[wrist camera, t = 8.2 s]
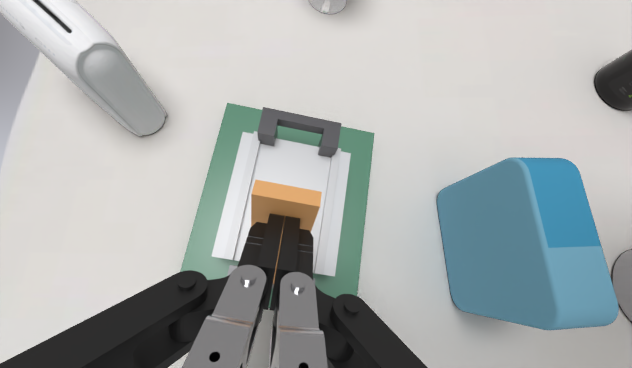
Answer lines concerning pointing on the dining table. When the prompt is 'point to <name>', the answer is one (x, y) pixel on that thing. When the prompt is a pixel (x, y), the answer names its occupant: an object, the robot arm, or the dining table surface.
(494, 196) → the blue rounded block
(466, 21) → the dining table surface
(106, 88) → the photo printer
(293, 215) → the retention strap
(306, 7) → the dining table surface
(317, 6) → the wineglass
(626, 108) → the supplement bottle
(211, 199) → the processor board
